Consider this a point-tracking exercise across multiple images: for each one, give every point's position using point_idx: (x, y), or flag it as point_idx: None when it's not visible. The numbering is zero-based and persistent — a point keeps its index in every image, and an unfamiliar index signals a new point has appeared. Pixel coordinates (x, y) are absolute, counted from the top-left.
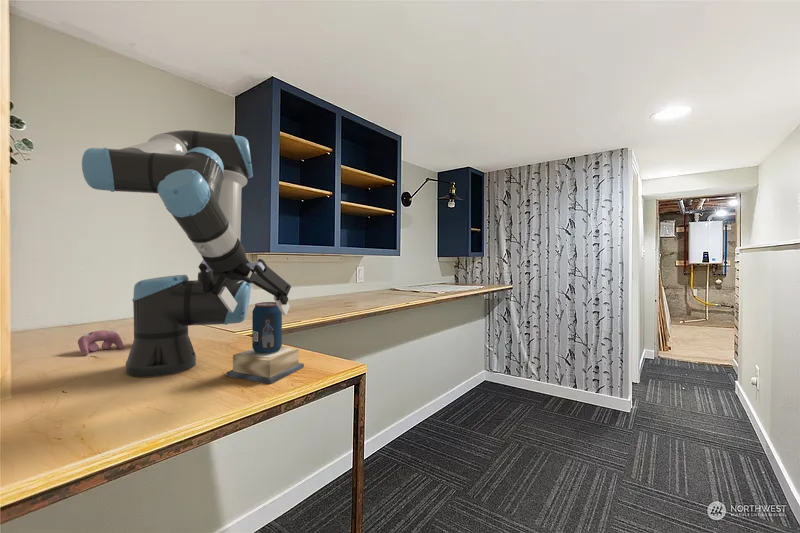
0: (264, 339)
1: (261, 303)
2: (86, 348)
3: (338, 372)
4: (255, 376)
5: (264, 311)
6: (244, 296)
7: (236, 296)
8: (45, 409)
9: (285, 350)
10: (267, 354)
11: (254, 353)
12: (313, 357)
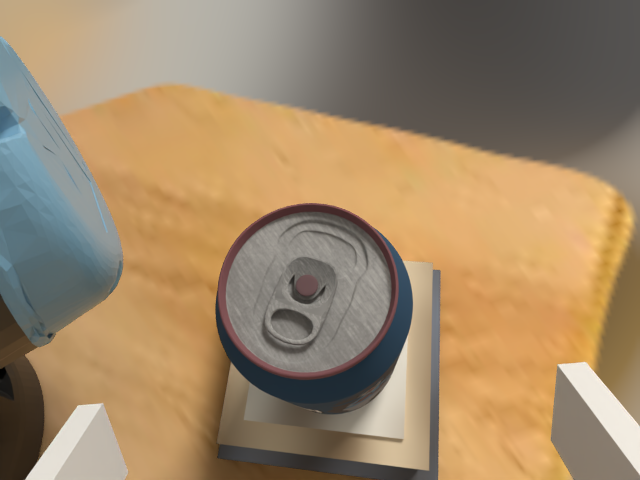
0: (357, 405)
1: (234, 253)
2: None
3: (593, 282)
4: (356, 469)
5: (349, 388)
6: (64, 239)
7: (10, 281)
8: None
9: None
10: None
11: None
12: (404, 167)
